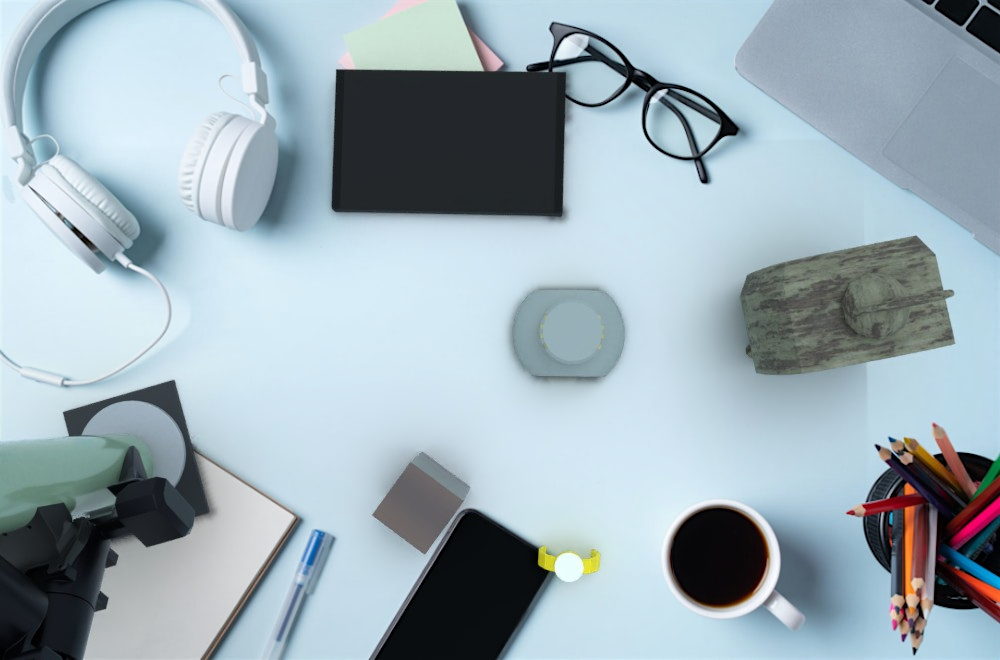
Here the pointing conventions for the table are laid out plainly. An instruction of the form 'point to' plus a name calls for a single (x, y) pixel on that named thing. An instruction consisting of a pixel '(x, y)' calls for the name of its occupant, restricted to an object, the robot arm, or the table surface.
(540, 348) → the air freshener
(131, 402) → the scale
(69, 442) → the canister
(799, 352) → the toy tank
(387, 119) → the external hard drive
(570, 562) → the watch
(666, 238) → the table surface
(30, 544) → the robot arm
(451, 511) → the block
